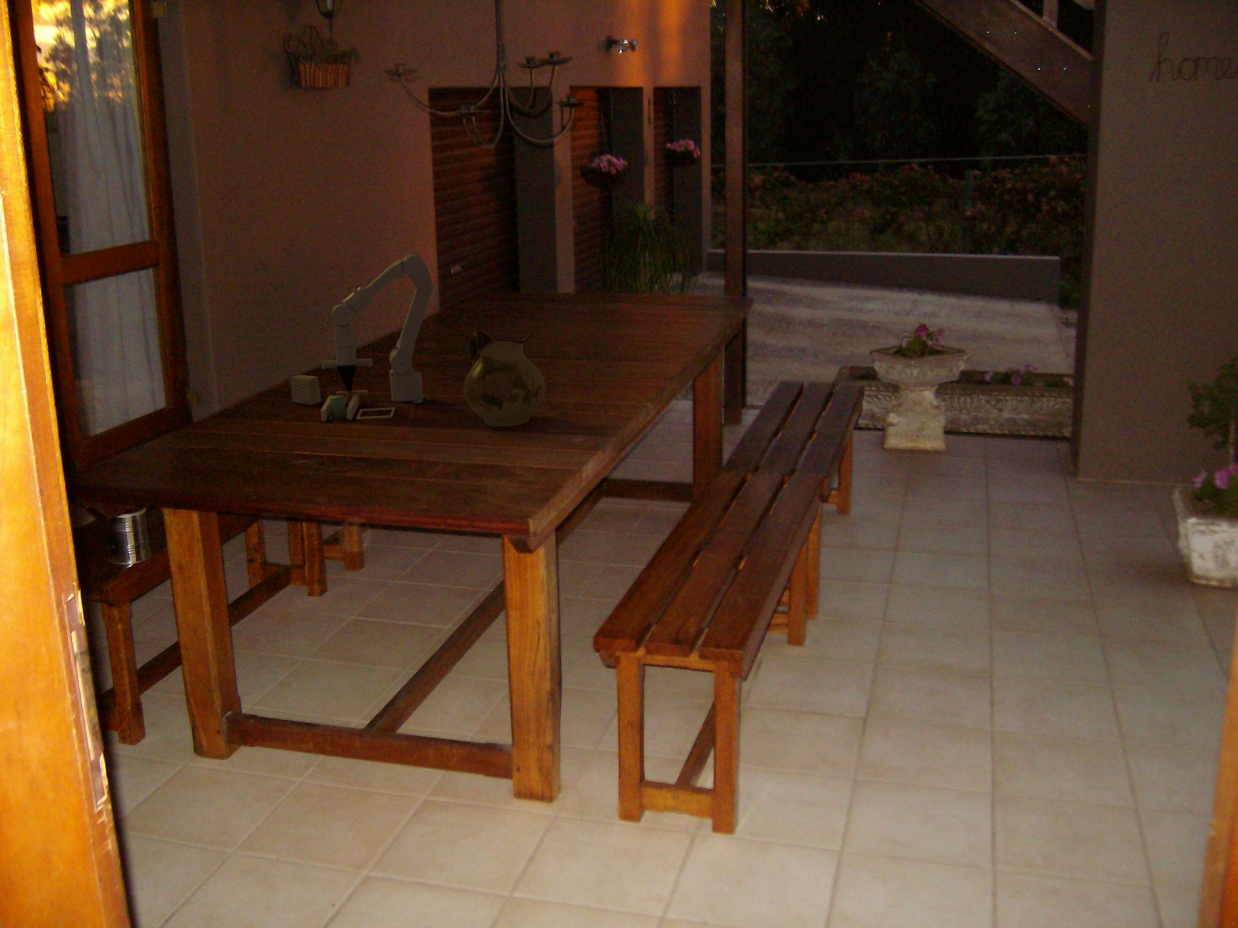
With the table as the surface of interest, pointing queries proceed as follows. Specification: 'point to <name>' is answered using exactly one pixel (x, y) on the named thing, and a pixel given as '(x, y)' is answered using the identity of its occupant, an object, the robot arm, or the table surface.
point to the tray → (375, 416)
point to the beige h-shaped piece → (350, 409)
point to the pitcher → (502, 381)
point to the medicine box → (305, 389)
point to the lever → (346, 394)
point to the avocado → (337, 406)
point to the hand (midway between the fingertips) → (349, 390)
